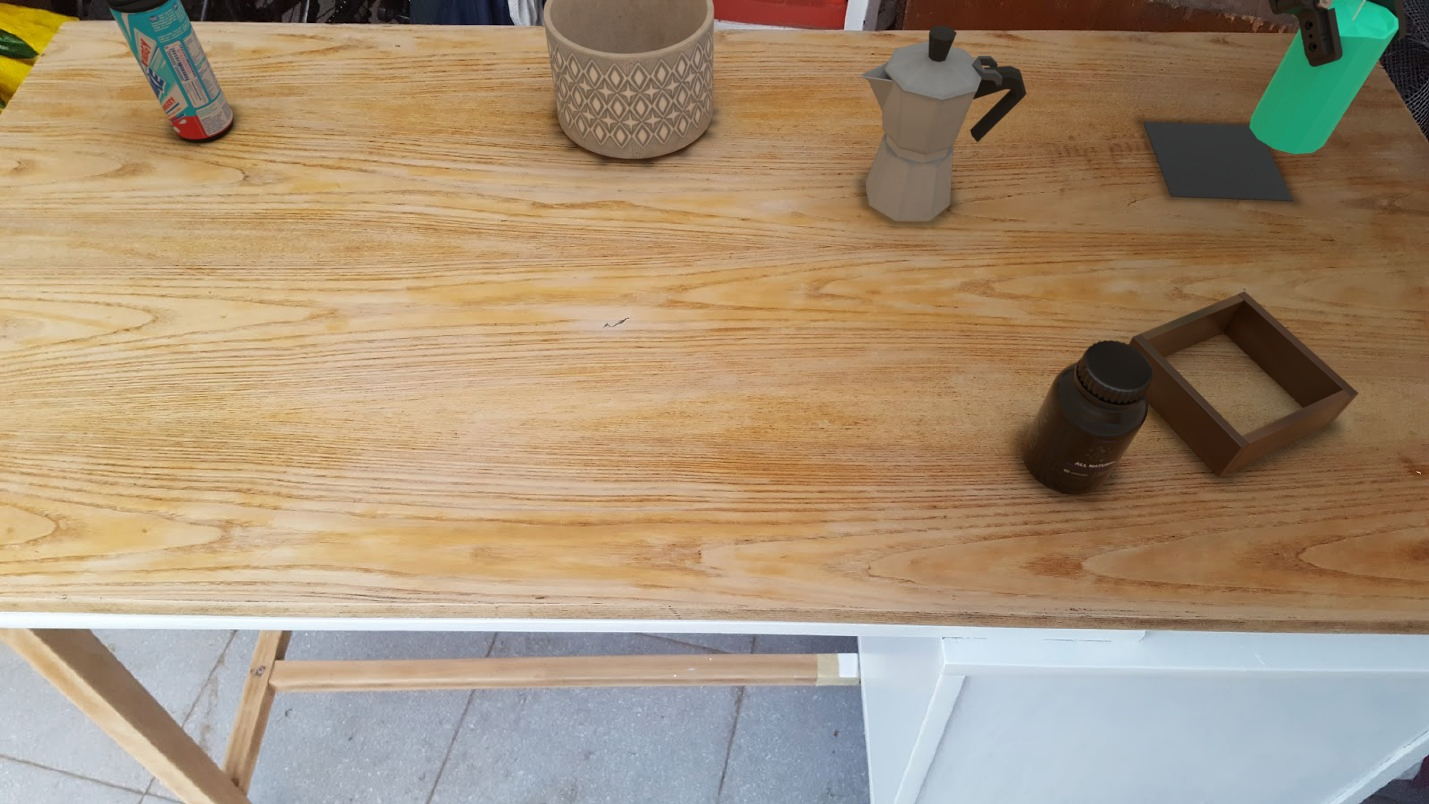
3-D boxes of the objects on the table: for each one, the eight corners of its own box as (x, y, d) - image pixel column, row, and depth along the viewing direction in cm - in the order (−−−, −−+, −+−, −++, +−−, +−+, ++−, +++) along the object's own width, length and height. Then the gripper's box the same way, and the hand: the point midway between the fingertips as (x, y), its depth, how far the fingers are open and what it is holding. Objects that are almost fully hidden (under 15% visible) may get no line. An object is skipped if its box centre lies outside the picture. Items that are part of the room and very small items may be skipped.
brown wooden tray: (1221, 327, 84) (1244, 290, 80) (1328, 427, 77) (1359, 393, 74) (1113, 372, 81) (1132, 336, 77) (1215, 480, 74) (1241, 447, 70)
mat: (1254, 130, 101) (1257, 125, 100) (1291, 205, 94) (1294, 200, 93) (1141, 126, 101) (1143, 121, 101) (1168, 200, 94) (1171, 195, 93)
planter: (729, 87, 105) (731, -24, 95) (690, 181, 95) (688, 69, 85) (588, 64, 107) (576, -46, 97) (536, 154, 97) (517, 42, 87)
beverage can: (182, 112, 101) (112, -23, 89) (239, 108, 102) (178, -27, 90) (172, 147, 98) (97, 12, 86) (231, 142, 98) (166, 6, 86)
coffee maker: (846, 228, 91) (873, 61, 77) (838, 169, 96) (861, 3, 82) (1000, 227, 91) (1056, 61, 77) (983, 169, 97) (1032, 3, 82)
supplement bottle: (1072, 514, 72) (1128, 421, 62) (1002, 456, 75) (1045, 359, 66) (1126, 467, 75) (1188, 370, 65) (1056, 413, 78) (1106, 313, 68)
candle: (1233, 117, 80) (1305, -19, 70) (1290, 102, 81) (1369, -34, 71) (1282, 161, 76) (1366, 23, 67) (1341, 144, 78) (1431, 7, 68)
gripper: (1290, -191, 63) (1336, 63, 66) (1441, -227, 66) (1477, 15, 69) (1199, -139, 70) (1244, 88, 73) (1340, -174, 73) (1378, 43, 77)
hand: (1358, 51), depth 71 cm, fingers closed on candle, 6 cm apart
